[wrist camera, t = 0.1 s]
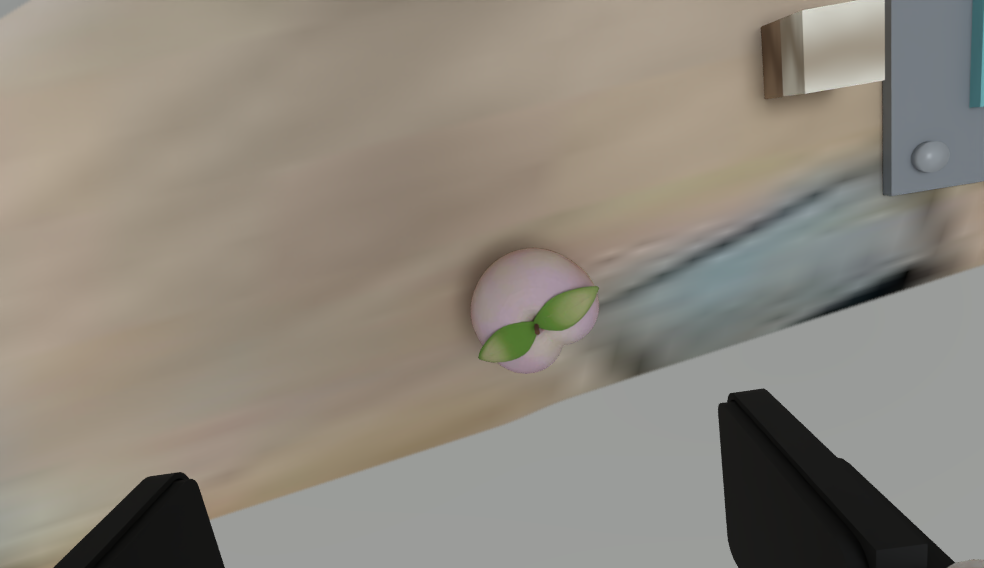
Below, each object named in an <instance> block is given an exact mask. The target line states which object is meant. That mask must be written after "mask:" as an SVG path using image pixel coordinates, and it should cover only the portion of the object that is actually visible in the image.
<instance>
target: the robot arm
mask: <svg viewBox="0 0 984 568" xmlns="http://www.w3.org/2000/svg"><path fill="white" fill-rule="evenodd" d="M718 417H719V430H720V443H721V456H722V470H723V483H724V496H725V509H726V523H727V536H728V542H729V547H730V550H731V553H732V555H733V558H734V560H735V562H736V564H737V566H738V568H984V560H974V559H973V560H968V561H963V562H958V563H955V562H954V561H953V560H952V559H951V558H950V557H948V556H947V555H946V554H945V553H944V552H943V551H942V550H941V549H940V548H939V547H938V546H937V545H936V544H935V543H933V541H931V540H930V539H929V538H928V537H927V536H926V535H925V534H924V533H923V532H922V531H921V530H920V529H919V528H918V527H917V526H916V525H914V524H913V523H912V522H911V521H910V520H909V519H908V518H907V517H906V516H905V515H904V514H903V513H902V512H901V511H900V510H898V509H897V508H896V507H895V506H894V505H893V504H892V503H891V502H890V501H889V500H888V499H887V498H885V496H884V495H882V494H881V493H880V492H879V491H878V490H877V489H876V488H875V487H874V486H873V485H872V484H871V483H869V481H867V480H866V479H865V478H864V477H863V476H862V475H861V474H860V473H859V472H858V471H857V470H856V469H855V468H854V467H852V465H851V464H849V463H848V462H846V461H845V460H844V459H842V458H837V457H836V456H835V455H834V454H833V453H832V452H831V451H830V450H829V449H828V448H827V447H826V446H825V445H823V443H821V442H820V441H819V440H818V439H817V438H816V437H815V436H814V435H813V434H812V433H811V432H810V431H809V430H808V429H807V428H806V427H805V426H804V425H803V424H802V423H801V422H799V421H798V420H797V419H796V418H795V417H794V416H793V415H792V414H791V413H790V412H789V411H788V410H787V409H786V408H785V407H784V406H783V405H781V403H780V402H779V401H777V400H776V399H775V398H774V397H773V396H772V395H771V394H770V393H769V392H768V391H767V390H765V389H757V390H750V391H743V392H736V393H730V394H729V396H728V400H727V403H720V404H719V407H718ZM54 568H225V567H224V564H223V561H222V558H221V555H220V551H219V549H218V545H217V542H216V539H215V536H214V533H213V530H212V526H211V524H210V520H209V517H208V514H207V511H206V508H205V505H204V502H203V498H202V495H201V492H200V489H199V486H198V484H197V482H196V481H195V480H193V479H189V478H188V477H187V476H186V475H185V474H184V473H182V472H178V473H171V474H164V475H157V476H150V477H147V478H145V479H144V480H143V481H142V482H141V483H140V484H139V485H138V486H136V487H135V488H134V489H133V490H132V491H131V492H130V493H129V494H128V495H127V496H126V497H125V498H124V499H123V500H122V501H121V502H120V503H119V504H118V505H117V506H116V507H115V508H114V509H113V510H112V511H111V512H110V513H109V514H108V515H107V516H106V517H105V518H104V519H103V520H102V521H101V522H100V523H99V524H98V525H97V526H96V527H94V528H93V529H92V530H91V531H90V532H89V533H88V534H87V535H86V536H85V537H84V538H83V539H82V540H81V541H80V542H79V543H78V544H77V545H76V546H75V547H74V548H73V549H72V550H71V551H70V552H69V553H68V554H67V555H66V556H65V557H64V558H63V559H62V560H61V561H60V562H59V563H58V564H57V565H56V566H55V567H54Z"/></svg>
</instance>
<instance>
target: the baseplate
mask: <svg viewBox="0 0 984 568" xmlns="http://www.w3.org/2000/svg"><path fill="white" fill-rule="evenodd" d="M981 181H984V0H885V80H883V195H889V196H894V195H900V194H907V193H913V192H919V191H925V190H932V189H938V188H944V187H950V186H956V185H963V184H969V183H975V182H981Z"/></svg>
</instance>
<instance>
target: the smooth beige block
mask: <svg viewBox="0 0 984 568" xmlns="http://www.w3.org/2000/svg"><path fill="white" fill-rule="evenodd" d="M761 36H762V56H763V76H764V95H765V99H768V98H776V97H784V96H792V95H799V94H807V93H812V92H818V91H824V90H830V89H836V88H842V87H848V86H853V85H859V84H865V83H871V82H877V81H883V80H885V0H857V1H851V2H846V3H840V4H835V5H829V6H823V7H818V8H812V9H806V10H802V11H799V12H797V13H794V14H792V15H789V16H787V17H784V18H782V19H779V20H777V21H774V22H772V23H770V24H767V25H765V26H762V27H761Z"/></svg>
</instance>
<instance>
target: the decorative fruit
mask: <svg viewBox="0 0 984 568" xmlns="http://www.w3.org/2000/svg"><path fill="white" fill-rule="evenodd" d="M598 289H599V287H597V286H594V284H593V282H592V280H591V279H590V277H589V276H588V275H587V273H586V272H585V271H584V270H583V269H582V268H581V267H579V266H578V265H577V264H575V263H574V262H572V261H571V260H569V259H568V258H566V257H564V256H562V255H560V254H558V253H556V252H553V251H550V250H546V249H540V248H525V249H520V250H517V251H513V252H511V253H508V254H506V255H504V256H502V257H501V258H499V259H498V260H496V261H495V262H494V263H493V264H492V265H491V266H490V267H489V268H488V269H487V270H486V271H485V272H484V273H483V275H482V276H481V278H480V280H479V281H478V283H477V286H476V288H475V290H474V293H473V297H472V301H471V321H472V325H473V328H474V330H475V333H476V335H477V337H478V339H479V340H480V342H481V344H482V345H483V347H482V349H481V351H480V353H479V357H478V358H479V359H480V360H484V361H488V362H497V363H498V364H500V365H501V366H503V367H505V368H506V369H508V370H511V371H514V372H517V373H525V374H527V373H535V372H538V371H541V370H543V369H545V368H547V367H549V366H550V365H551V364H552V363H553V362H554V361H555V360H556V359H557V357H558V356H559V354H560V352H561V349H562V347H563V346H564V345H568V344H572V343H574V342H577V341H578V340H580V339H582V338H583V337H584V336H585V335H587V334H588V333H589V332H590V330H591V329H592V328H593V326H594V324H595V322H596V320H597V316H598V312H599V300H598V294H597V292H598Z"/></svg>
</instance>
